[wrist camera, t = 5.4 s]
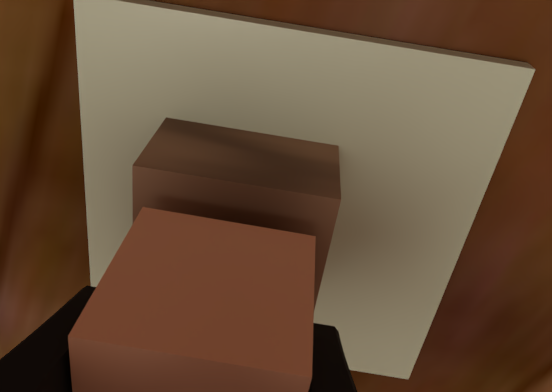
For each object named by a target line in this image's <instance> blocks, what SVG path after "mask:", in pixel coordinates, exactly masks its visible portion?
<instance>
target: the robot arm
mask: <svg viewBox="0 0 552 392" xmlns="http://www.w3.org/2000/svg"><path fill="white" fill-rule="evenodd" d="M95 289H96V287H92V286H86V287H84V288H83V289H82V290H80V291H79V292H78V293H77V294H76V295H75V296H74V297H73V298H72V299H70V300H69V301H68V302H67V303H66V304H65V305H64V306H63V307H62V308H60V309H59V310H58V311H57V312H56V313H55V314H54V315H53V316H51V317H50V318H49V319H48V320H47V321H46V322H45V323H43V324H42V325H41V326H40V327H39V328H38V329H36V330H35V331H34V332H33V333H32V334H31V335H29V336H28V337H27V338H26V339H25V340H23V341H22V342H21V343H20V344H18V345H17V346H16V347H15V348H14V349H12V350H11V351H10V352H9V353H8V354H6V355H5V356H4V357H3V358H1V359H0V392H72V381H71V369H70V357H69V345H68V335H69V333H70V332H71V330H72V328H73V327H74V325H75V323H76V321H77V320H78V318H79V316H80V314H81V313H82V311H83V309H84V308H85V306H86V304H87V302H88V301H89V299H90V297H91V295H92V294H93V292H94V290H95ZM308 392H357V390H356V387H355V384H354V381H353V379H352V376H351V373H350V370H349V367H348V364H347V361H346V358H345V354H344V351H343V348H342V344H341V340H340V336H339V332H338V330H337V329H336V328H335V326H330V325H324V324H317V323H313V361H312V380H311V383H310V387H309V391H308Z"/></svg>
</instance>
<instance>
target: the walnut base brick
mask: <svg viewBox="0 0 552 392" xmlns="http://www.w3.org/2000/svg"><path fill="white" fill-rule="evenodd" d="M132 195H133V223H134V221H135V219H136V218H137V216H138V214H139V212H140V211H141V209H142V207H146V208H152V209H158V210H164V211H170V212H176V213H182V214H188V215H194V216H199V217H205V218H211V219H217V220H223V221H229V222H235V223H241V224H247V225H253V226H258V227H264V228H270V229H276V230H282V231H288V232H294V233H300V234H306V235H311V236H316V241H315V281H314V309H315V305H316V301H317V297H318V293H319V289H320V285H321V281H322V277H323V272H324V268H325V264H326V260H327V256H328V252H329V248H330V244H331V240H332V235H333V231H334V227H335V223H336V219H337V215H338V211H339V207H340V202H341V186H340V165H339V146H337V145H331V144H325V143H319V142H313V141H307V140H301V139H295V138H288V137H282V136H276V135H270V134H264V133H258V132H252V131H246V130H240V129H234V128H228V127H222V126H216V125H209V124H203V123H197V122H191V121H185V120H179V119H173V118H167V117H166V118H165V120H164V121H163V122H162V124H161V125H160V127H159V128H158V130H157V131H156V132H155V134H154V135H153V137H152V138H151V140H150V141H149V142H148V144H147V145H146V147H145V148H144V150H143V151H142V152H141V154H140V155H139V157H138V158H137V160H136V161H135V162H134V164H133V165H132Z"/></svg>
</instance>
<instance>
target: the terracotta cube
mask: <svg viewBox="0 0 552 392" xmlns="http://www.w3.org/2000/svg"><path fill="white" fill-rule="evenodd" d="M315 241H316V236H311V235H306V234H300V233H294V232H288V231H282V230H276V229H270V228H264V227H258V226H253V225H247V224H241V223H235V222H229V221H223V220H217V219H211V218H205V217H199V216H194V215H188V214H182V213H176V212H170V211H164V210H158V209H152V208H146V207H142V209H141V211H140V212H139V214H138V216H137V218H136V219H135V221H134V223H133V225H132V226H131V228H130V230H129V231H128V233H127V235H126V237H125V238H124V240H123V242H122V244H121V245H120V247H119V249H118V250H117V252H116V254H115V256H114V257H113V259H112V261H111V263H110V264H109V266H108V268H107V269H106V271H105V273H104V275H103V276H102V278H101V280H100V282H99V283H98V285H97V287H96V289H95V290H94V292H93V294H92V295H91V297H90V299H89V301H88V302H87V304H86V306H85V308H84V309H83V311H82V313H81V314H80V316H79V318H78V320H77V321H76V323H75V325H74V327H73V328H72V330H71V332H70V333H69V335H68V345H69V357H70V369H71V381H72V392H308V391H309V387H310V383H311V380H312V361H313V321H314V281H315Z"/></svg>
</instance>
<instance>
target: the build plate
mask: <svg viewBox="0 0 552 392" xmlns="http://www.w3.org/2000/svg"><path fill="white" fill-rule="evenodd" d="M74 15H75V32H76V48H77V65H78V81H79V98H80V114H81V131H82V147H83V164H84V180H85V197H86V214H87V230H88V247H89V263H90V280H91V286H92V287H97V285H98V283H99V282H100V280H101V278H102V276H103V275H104V273H105V271H106V269H107V268H108V266H109V264H110V263H111V261H112V259H113V257H114V256H115V254H116V252H117V250H118V249H119V247H120V245H121V244H122V242H123V240H124V238H125V237H126V235H127V233H128V231H129V230H130V228H131V226H132V225H133V195H132V165H133V164H134V162H135V161H136V160H137V158H138V157H139V155H140V154H141V152H142V151H143V150H144V148H145V147H146V145H147V144H148V142H149V141H150V140H151V138H152V137H153V135H154V134H155V132H156V131H157V130H158V128H159V127H160V125H161V124H162V122H163V121H164V120H165V118H166V117H167V118H173V119H179V120H185V121H191V122H197V123H203V124H209V125H216V126H222V127H228V128H234V129H240V130H246V131H252V132H258V133H264V134H270V135H276V136H282V137H288V138H295V139H301V140H307V141H313V142H319V143H325V144H331V145H337V146H339V165H340V186H341V202H340V207H339V211H338V215H337V219H336V223H335V227H334V231H333V235H332V240H331V244H330V248H329V252H328V256H327V260H326V264H325V268H324V272H323V277H322V281H321V285H320V289H319V293H318V297H317V301H316V305H315V309H314V321H313V323H317V324H324V325H330V326H335V328H336V329H337V330H338V332H339V336H340V340H341V344H342V348H343V351H344V354H345V358H346V361H347V364H348V367H349V370H354V371H360V372H366V373H372V374H378V375H384V376H390V377H396V378H403V379H409V377H410V374H411V372H412V369H413V367H414V364H415V362H416V359H417V357H418V355H419V352H420V350H421V347H422V345H423V342H424V340H425V338H426V335H427V333H428V330H429V328H430V325H431V323H432V320H433V318H434V316H435V313H436V311H437V308H438V306H439V303H440V301H441V299H442V296H443V294H444V291H445V289H446V286H447V284H448V281H449V279H450V277H451V274H452V272H453V269H454V267H455V264H456V262H457V260H458V257H459V255H460V252H461V250H462V247H463V245H464V242H465V240H466V238H467V235H468V233H469V230H470V228H471V225H472V223H473V221H474V218H475V216H476V213H477V211H478V208H479V206H480V203H481V201H482V199H483V196H484V194H485V191H486V189H487V186H488V184H489V182H490V179H491V177H492V174H493V172H494V169H495V167H496V164H497V162H498V160H499V157H500V155H501V152H502V150H503V147H504V145H505V143H506V140H507V138H508V135H509V133H510V130H511V128H512V125H513V123H514V121H515V118H516V116H517V113H518V111H519V108H520V106H521V104H522V101H523V99H524V96H525V94H526V91H527V89H528V86H529V84H530V82H531V79H532V77H533V74H534V72H535V69H534V68H533V67H532V66H531V65H530V64H529V63H527V62H521V61H515V60H509V59H502V58H496V57H490V56H484V55H478V54H472V53H466V52H460V51H454V50H448V49H442V48H436V47H430V46H424V45H417V44H411V43H405V42H399V41H393V40H387V39H381V38H375V37H369V36H363V35H357V34H351V33H345V32H339V31H332V30H326V29H320V28H314V27H308V26H302V25H296V24H290V23H284V22H278V21H272V20H266V19H260V18H254V17H247V16H241V15H235V14H229V13H223V12H217V11H211V10H205V9H199V8H193V7H187V6H181V5H175V4H169V3H162V2H156V1H150V0H74Z"/></svg>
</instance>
